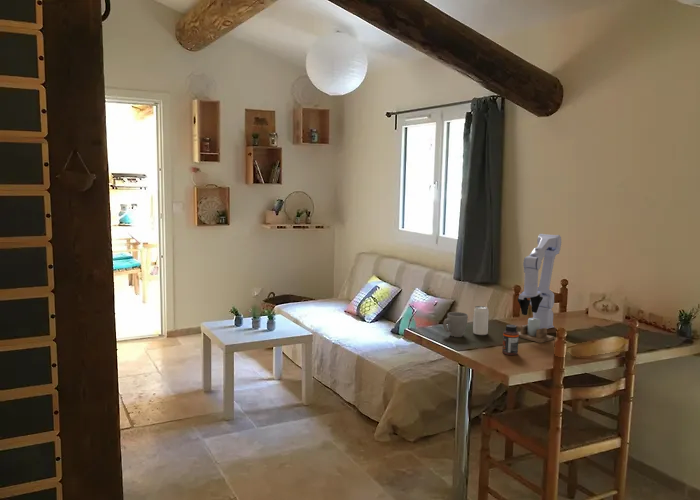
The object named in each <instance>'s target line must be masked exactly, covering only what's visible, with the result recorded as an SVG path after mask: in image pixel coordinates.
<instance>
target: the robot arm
mask: <svg viewBox="0 0 700 500" xmlns="http://www.w3.org/2000/svg"><path fill="white" fill-rule="evenodd" d="M536 244H537V246H536V247H534V248H533V249H532V251H531V252H530V253H529V254H528V255H527V256H525V257H524V259H523V265H522V266H523V273H524V285H523V291H522V292H521V293H520V294H519V295H518V298H517V302H518V303H519V307H520V311H521V315H523V316H527V315H528V311H529V306H530V307H531V313H532V318H538V319H540V329H541V328H547V330H548V329H551V328H555V325H554V312H553V310H552V309H553V308H554V306H555V293H554V292H553V291H552V290H551V289H550V285H551V282H552V281H551V280H552V275H553V271H554V270H553V269H554V265H555V264H554V263H555V259H556V255H558V254H560V252H561V247H562V236H561V235H560V234H547V233H546V234H545V233H539V234H538V236H537V242H536ZM542 261H543V263H542ZM541 266H542V267H541ZM539 270H541V272H540V273H541V274H540V279H539Z"/></svg>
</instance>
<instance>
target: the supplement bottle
mask: <svg viewBox="0 0 700 500" xmlns="http://www.w3.org/2000/svg"><path fill="white" fill-rule="evenodd" d="M518 332H519V331H517V325H516V324H506V326H505V330H503V333H502V354H504V355H506V356H507V355H508V356H516V355H518V352H519V340H520V337H519V333H518Z"/></svg>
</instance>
